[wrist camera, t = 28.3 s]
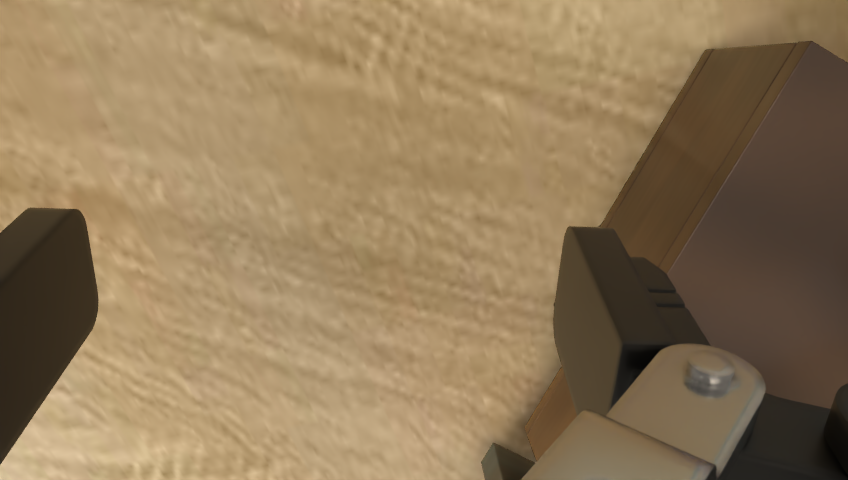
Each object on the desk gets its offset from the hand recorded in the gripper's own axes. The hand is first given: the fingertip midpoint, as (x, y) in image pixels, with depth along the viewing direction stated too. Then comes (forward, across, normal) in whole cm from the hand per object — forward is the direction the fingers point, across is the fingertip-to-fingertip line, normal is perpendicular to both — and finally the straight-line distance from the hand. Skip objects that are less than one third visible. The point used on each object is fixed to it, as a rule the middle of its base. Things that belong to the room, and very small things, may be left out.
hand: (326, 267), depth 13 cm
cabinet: (+20, -17, +9) cm, 28 cm away
